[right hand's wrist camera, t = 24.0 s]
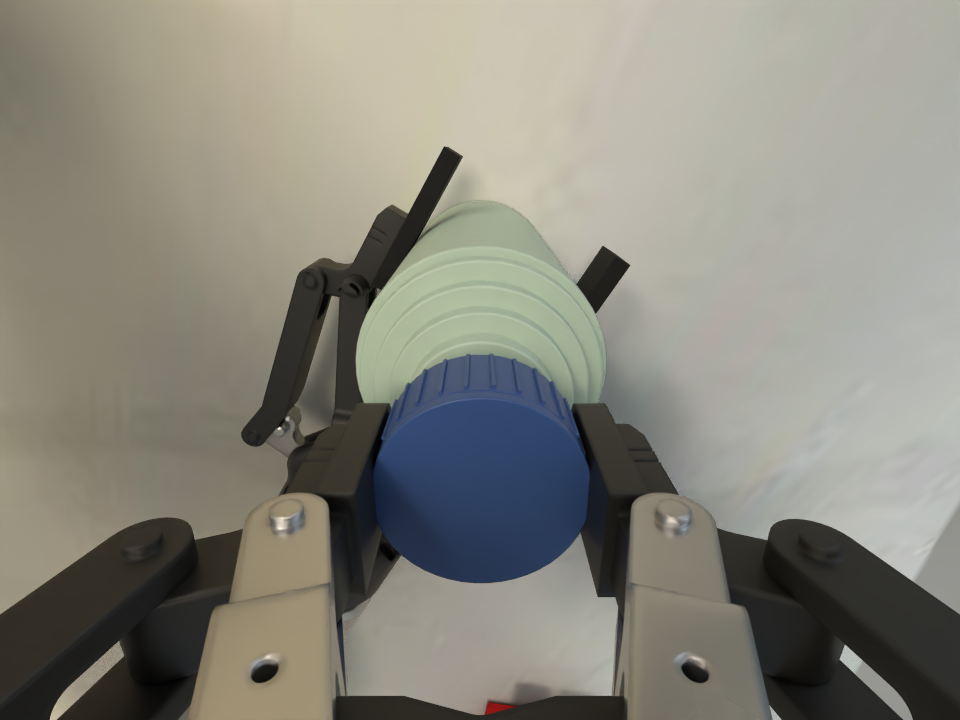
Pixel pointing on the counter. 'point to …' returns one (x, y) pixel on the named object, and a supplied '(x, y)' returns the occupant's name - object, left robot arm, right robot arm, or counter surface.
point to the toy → (496, 708)
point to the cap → (481, 471)
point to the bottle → (481, 307)
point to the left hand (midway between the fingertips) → (537, 205)
